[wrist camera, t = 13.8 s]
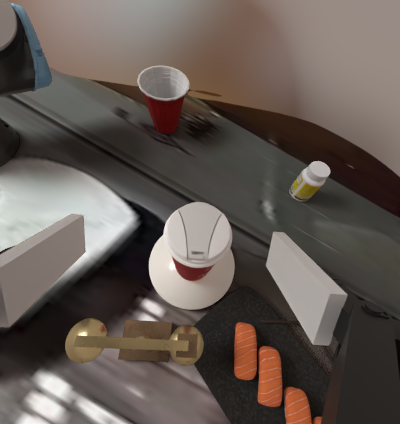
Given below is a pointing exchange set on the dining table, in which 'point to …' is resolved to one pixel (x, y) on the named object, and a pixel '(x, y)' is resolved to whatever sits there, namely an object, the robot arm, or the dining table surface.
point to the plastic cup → (164, 95)
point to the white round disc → (188, 290)
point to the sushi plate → (259, 364)
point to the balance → (135, 342)
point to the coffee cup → (197, 239)
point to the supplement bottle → (309, 181)
